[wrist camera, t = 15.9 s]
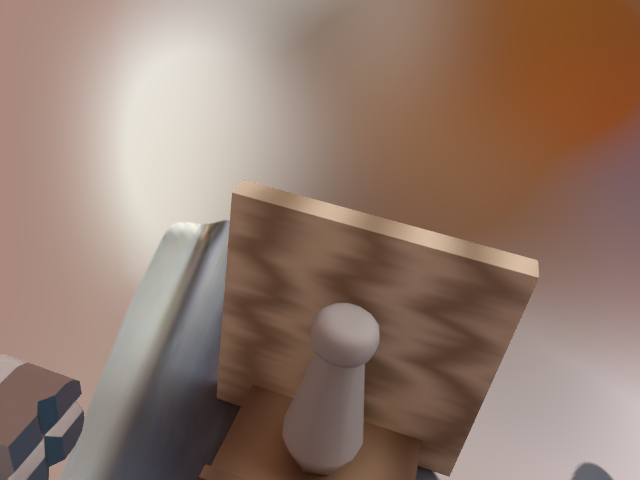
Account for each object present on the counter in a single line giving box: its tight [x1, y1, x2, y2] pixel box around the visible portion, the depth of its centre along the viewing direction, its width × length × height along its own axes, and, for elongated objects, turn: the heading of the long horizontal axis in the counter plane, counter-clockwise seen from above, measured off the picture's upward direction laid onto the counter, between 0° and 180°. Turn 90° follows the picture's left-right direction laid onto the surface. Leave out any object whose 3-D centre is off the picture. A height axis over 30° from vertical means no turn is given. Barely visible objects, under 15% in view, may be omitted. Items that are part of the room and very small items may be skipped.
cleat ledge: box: [198, 385, 422, 480], centre depth 42 cm, size 14×10×4 cm
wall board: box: [216, 180, 539, 476], centre depth 43 cm, size 20×2×20 cm, turn 74°
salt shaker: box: [282, 303, 380, 476], centre depth 39 cm, size 6×6×13 cm
